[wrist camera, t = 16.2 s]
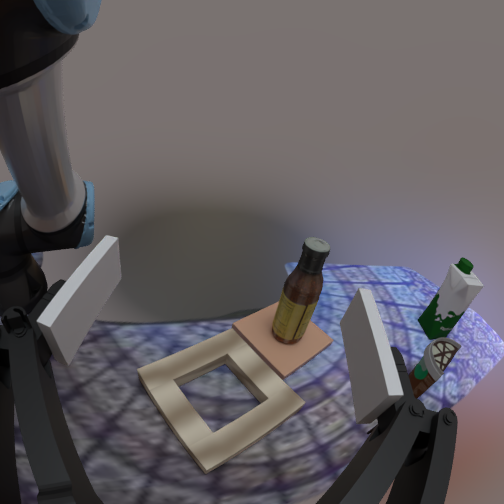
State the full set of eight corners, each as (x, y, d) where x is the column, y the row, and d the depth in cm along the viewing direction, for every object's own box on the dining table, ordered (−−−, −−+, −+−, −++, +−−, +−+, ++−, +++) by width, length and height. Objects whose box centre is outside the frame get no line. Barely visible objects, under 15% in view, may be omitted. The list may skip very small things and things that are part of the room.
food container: (418, 357, 52) (442, 327, 47) (435, 374, 48) (462, 345, 43) (391, 384, 45) (420, 352, 40) (411, 404, 41) (442, 374, 36)
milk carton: (434, 316, 65) (471, 258, 55) (448, 340, 58) (491, 280, 47) (413, 317, 64) (452, 254, 53) (428, 343, 56) (473, 278, 46)
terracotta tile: (231, 327, 52) (232, 323, 51) (283, 302, 61) (284, 298, 60) (282, 380, 44) (284, 376, 43) (331, 344, 53) (333, 340, 52)
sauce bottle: (297, 321, 55) (333, 235, 44) (305, 346, 50) (347, 257, 39) (266, 320, 53) (295, 230, 43) (271, 346, 48) (306, 253, 38)
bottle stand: (139, 378, 38) (137, 369, 37) (229, 338, 50) (232, 328, 48) (205, 473, 28) (206, 470, 26) (299, 410, 39) (305, 402, 38)
